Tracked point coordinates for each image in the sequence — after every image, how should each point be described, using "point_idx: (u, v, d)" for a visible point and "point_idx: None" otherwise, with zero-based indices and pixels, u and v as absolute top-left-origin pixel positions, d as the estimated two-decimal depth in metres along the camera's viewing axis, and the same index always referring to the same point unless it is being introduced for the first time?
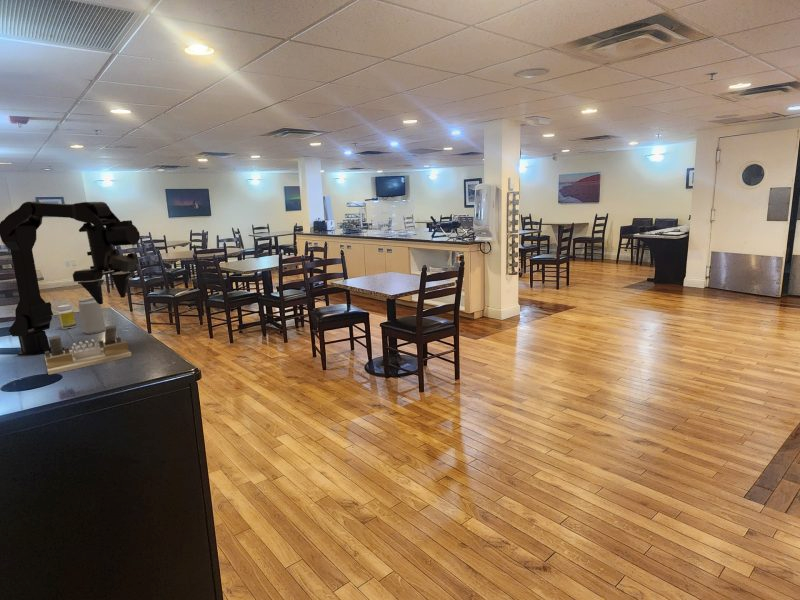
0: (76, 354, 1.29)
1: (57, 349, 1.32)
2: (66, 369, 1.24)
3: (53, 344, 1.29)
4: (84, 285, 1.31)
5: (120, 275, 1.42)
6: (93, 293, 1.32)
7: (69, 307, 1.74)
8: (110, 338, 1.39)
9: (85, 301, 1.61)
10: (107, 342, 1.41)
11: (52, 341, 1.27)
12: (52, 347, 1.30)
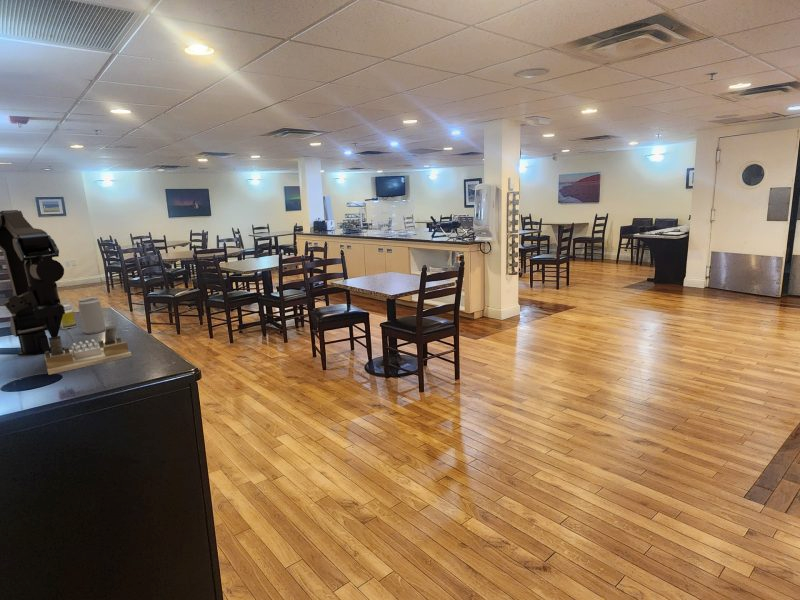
0: (76, 354, 1.29)
1: (57, 349, 1.32)
2: (66, 369, 1.24)
3: (53, 344, 1.29)
4: None
5: None
6: None
7: (69, 307, 1.74)
8: (110, 338, 1.39)
9: (85, 301, 1.61)
10: (107, 342, 1.41)
11: (52, 342, 1.27)
12: (52, 347, 1.30)
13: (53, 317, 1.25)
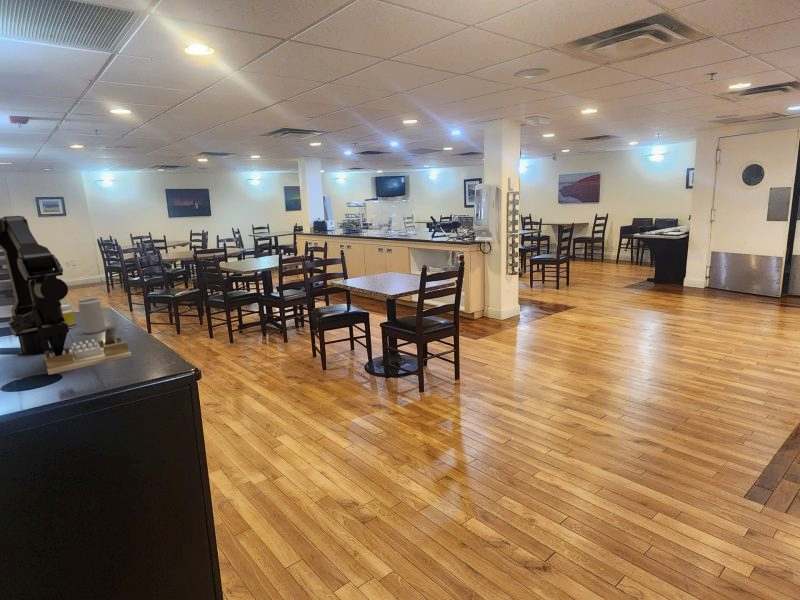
0: (76, 354, 1.29)
1: None
2: (66, 369, 1.24)
3: None
4: None
5: None
6: None
7: (69, 307, 1.74)
8: (110, 338, 1.39)
9: (85, 301, 1.61)
10: (107, 342, 1.41)
11: None
12: None
13: (57, 336, 1.26)
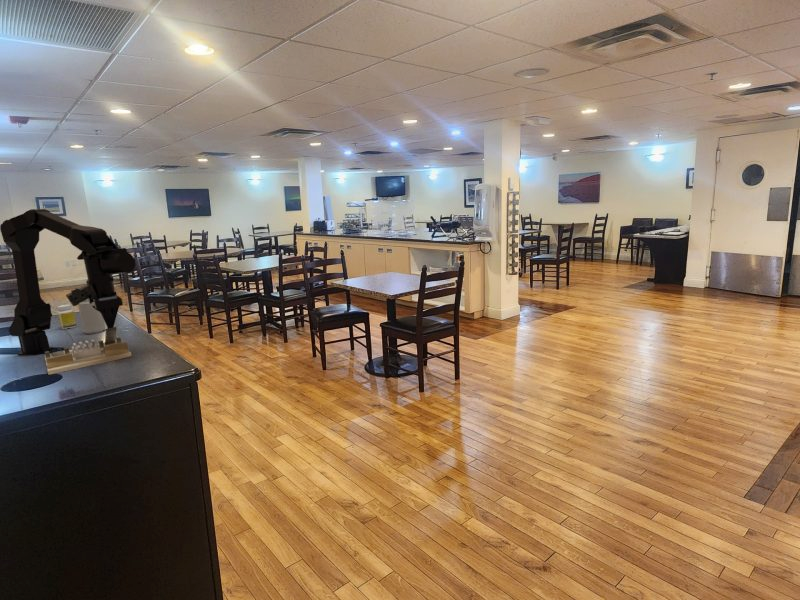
0: (76, 354, 1.29)
1: None
2: (66, 369, 1.24)
3: None
4: None
5: None
6: None
7: (69, 307, 1.74)
8: (110, 339, 1.39)
9: (85, 301, 1.61)
10: (107, 342, 1.41)
11: None
12: None
13: (110, 309, 1.33)
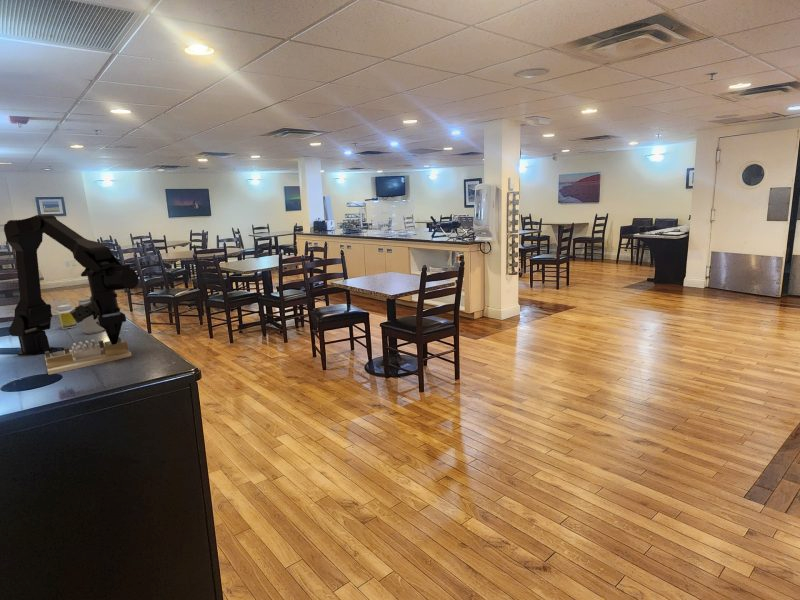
0: (76, 354, 1.29)
1: None
2: (66, 369, 1.24)
3: None
4: None
5: None
6: None
7: (69, 307, 1.74)
8: None
9: (85, 301, 1.61)
10: None
11: None
12: None
13: (113, 325, 1.34)
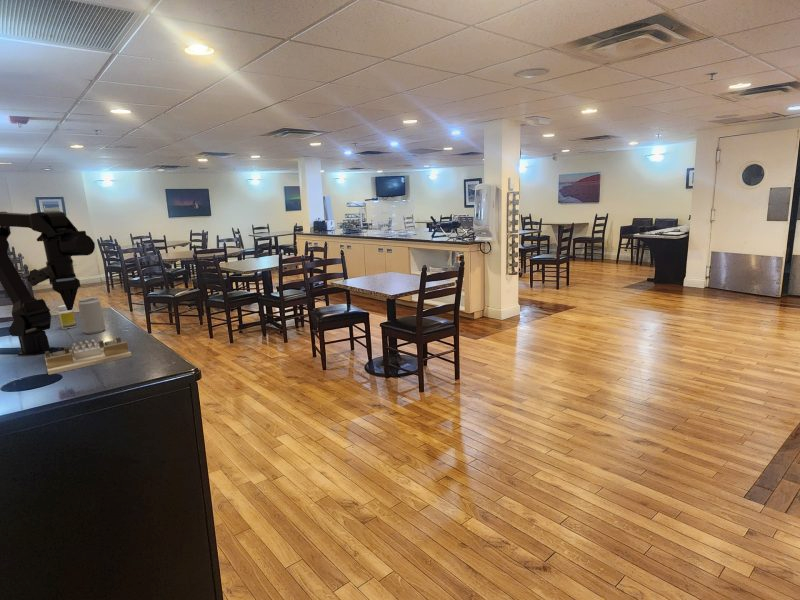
0: (76, 354, 1.29)
1: None
2: (66, 369, 1.24)
3: None
4: None
5: None
6: None
7: None
8: None
9: (85, 301, 1.61)
10: None
11: None
12: None
13: (69, 290, 1.36)
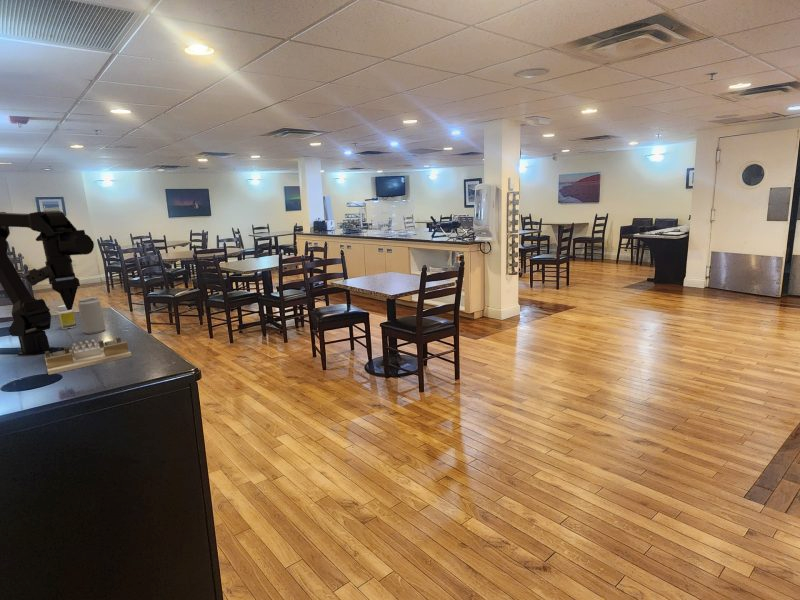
0: (76, 354, 1.29)
1: None
2: (66, 369, 1.24)
3: None
4: None
5: None
6: None
7: None
8: None
9: (85, 301, 1.61)
10: None
11: None
12: None
13: (68, 290, 1.36)
